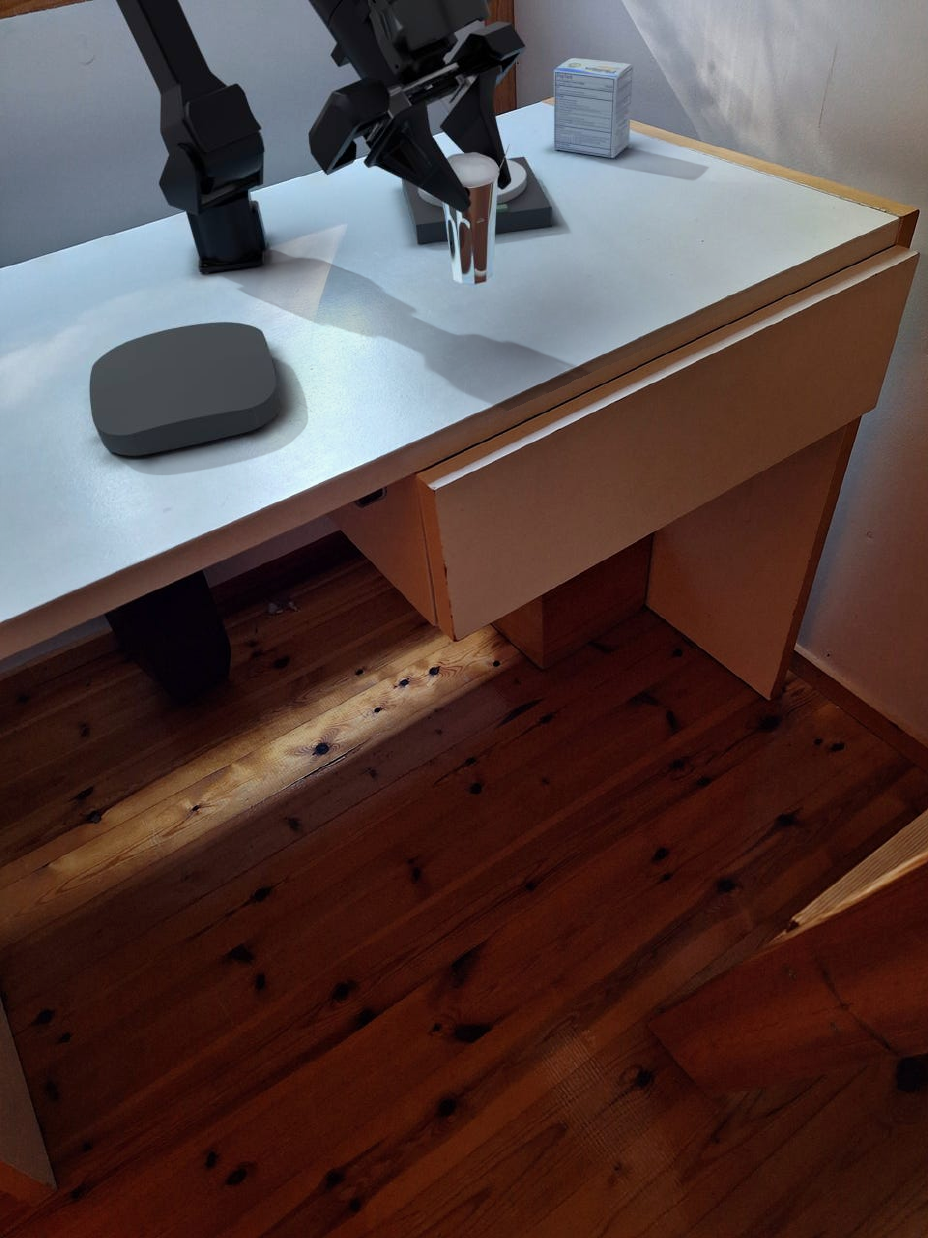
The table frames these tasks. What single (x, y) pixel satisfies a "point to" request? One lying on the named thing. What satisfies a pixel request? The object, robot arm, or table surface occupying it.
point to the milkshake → (473, 219)
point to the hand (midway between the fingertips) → (487, 197)
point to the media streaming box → (183, 388)
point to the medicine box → (592, 106)
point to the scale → (514, 208)
